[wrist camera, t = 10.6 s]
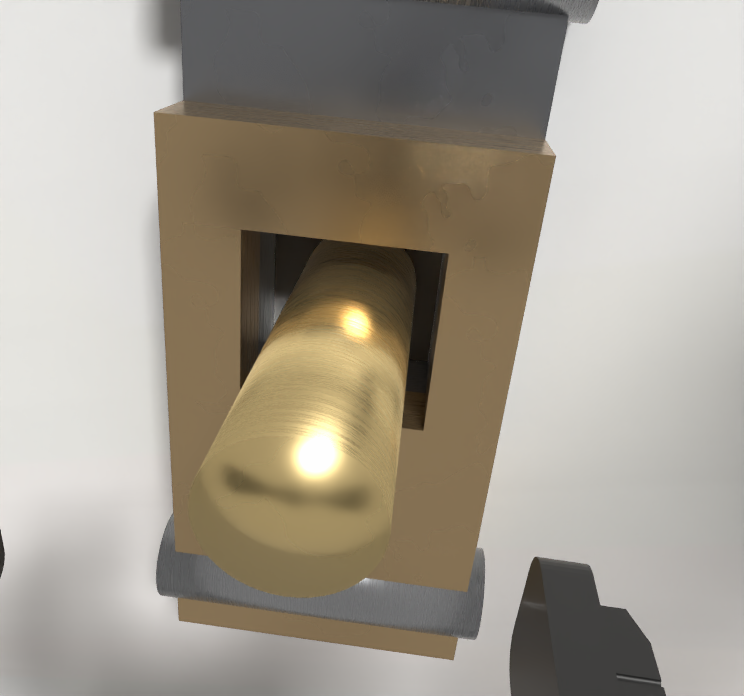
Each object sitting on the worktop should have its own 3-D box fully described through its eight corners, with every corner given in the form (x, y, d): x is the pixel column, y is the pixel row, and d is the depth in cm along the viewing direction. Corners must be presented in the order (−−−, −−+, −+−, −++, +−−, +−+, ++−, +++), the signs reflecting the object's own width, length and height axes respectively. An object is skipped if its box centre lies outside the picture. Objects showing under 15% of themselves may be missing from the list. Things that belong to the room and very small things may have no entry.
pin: (307, 221, 21) (184, 423, 11) (422, 234, 21) (400, 450, 11) (303, 325, 22) (190, 584, 13) (410, 338, 22) (380, 609, 12)
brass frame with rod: (183, -178, 17) (101, -231, 13) (607, -141, 16) (657, -183, 12) (201, 535, 27) (159, 628, 23) (466, 571, 26) (469, 673, 22)
